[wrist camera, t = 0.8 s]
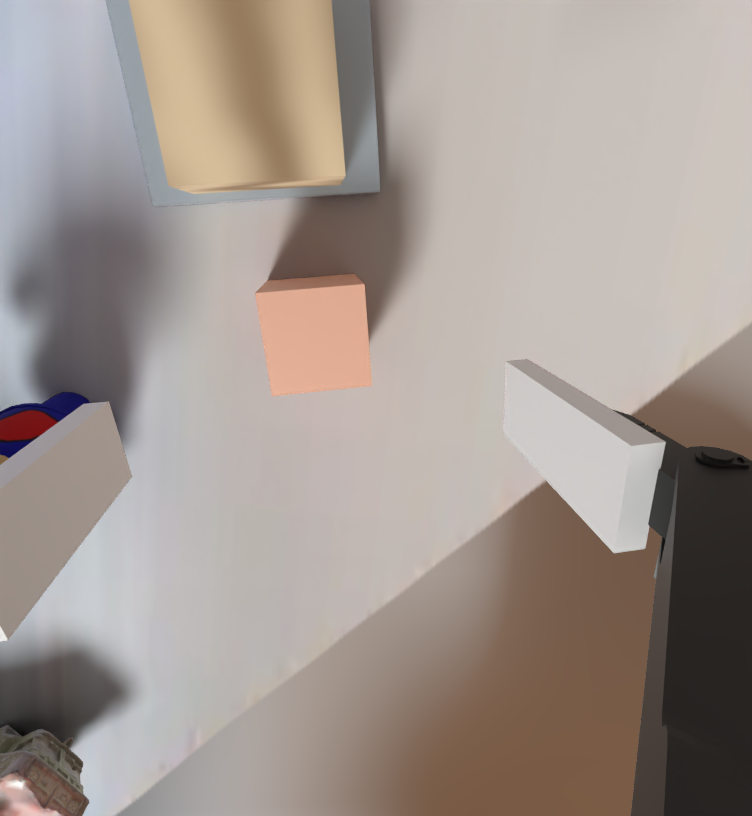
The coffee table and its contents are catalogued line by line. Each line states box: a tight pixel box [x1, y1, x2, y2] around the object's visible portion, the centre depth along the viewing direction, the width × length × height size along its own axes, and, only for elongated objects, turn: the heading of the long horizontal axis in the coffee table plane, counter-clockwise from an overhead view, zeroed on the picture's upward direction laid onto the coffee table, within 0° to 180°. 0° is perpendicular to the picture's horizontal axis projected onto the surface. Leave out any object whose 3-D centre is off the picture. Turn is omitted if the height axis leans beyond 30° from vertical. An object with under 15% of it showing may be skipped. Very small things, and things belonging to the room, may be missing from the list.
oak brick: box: [129, 0, 346, 194], centre depth 24 cm, size 9×9×5 cm
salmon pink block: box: [255, 274, 372, 396], centre depth 29 cm, size 6×6×7 cm
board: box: [106, 0, 380, 207], centre depth 27 cm, size 14×10×1 cm
